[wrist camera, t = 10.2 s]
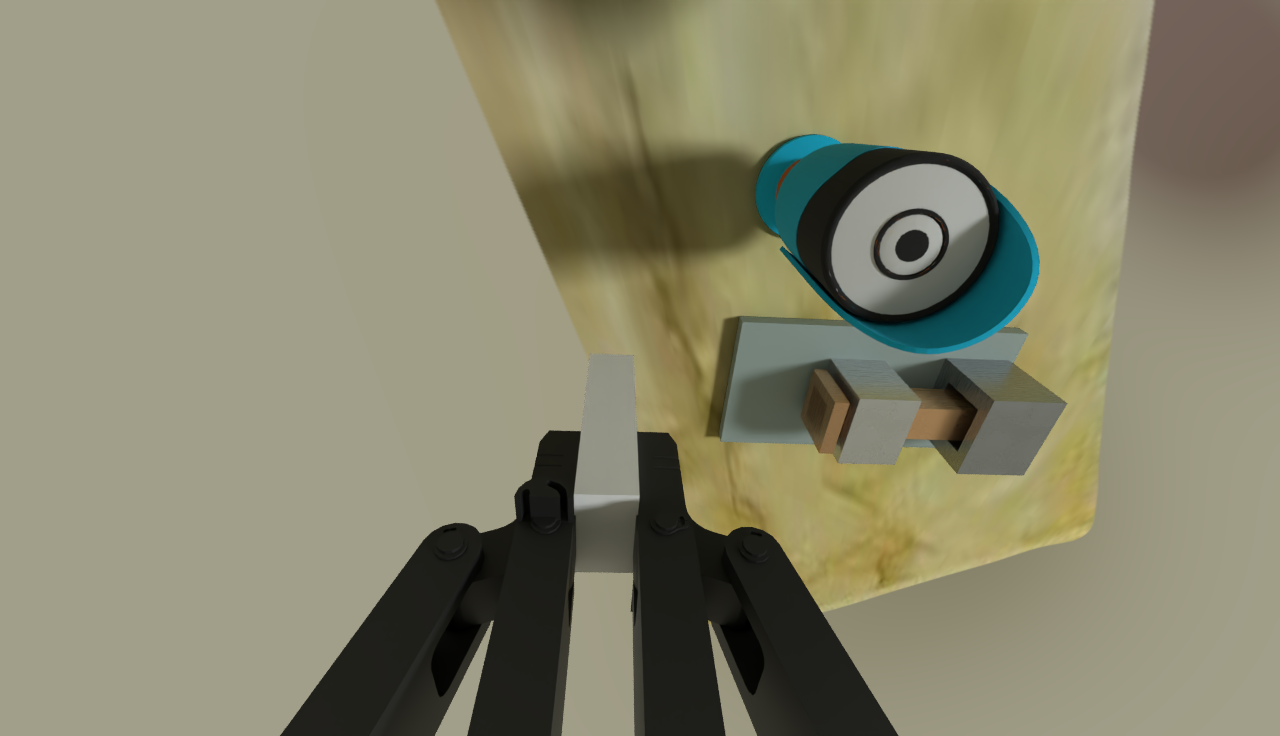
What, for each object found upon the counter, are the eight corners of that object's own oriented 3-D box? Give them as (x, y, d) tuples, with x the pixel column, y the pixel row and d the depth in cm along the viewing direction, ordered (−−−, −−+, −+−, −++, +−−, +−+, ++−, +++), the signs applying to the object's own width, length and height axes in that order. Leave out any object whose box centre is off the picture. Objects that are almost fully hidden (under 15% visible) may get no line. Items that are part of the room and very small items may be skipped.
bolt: (813, 369, 44) (835, 402, 39) (976, 375, 45) (1015, 408, 40) (800, 416, 46) (819, 453, 42) (953, 421, 47) (988, 457, 43)
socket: (945, 358, 45) (994, 400, 39) (1009, 360, 45) (1067, 403, 39) (916, 425, 48) (957, 473, 43) (975, 427, 49) (1023, 475, 43)
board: (739, 316, 43) (742, 322, 42) (1018, 328, 45) (1028, 334, 44) (718, 434, 50) (720, 441, 49) (962, 441, 51) (969, 448, 50)
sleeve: (830, 358, 44) (860, 398, 39) (884, 360, 44) (921, 400, 39) (812, 418, 48) (837, 463, 42) (863, 419, 48) (894, 464, 42)
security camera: (1009, 105, 16) (1131, 292, 20) (803, 88, 34) (886, 187, 38) (806, 291, 19) (944, 423, 23) (716, 185, 37) (801, 267, 41)
